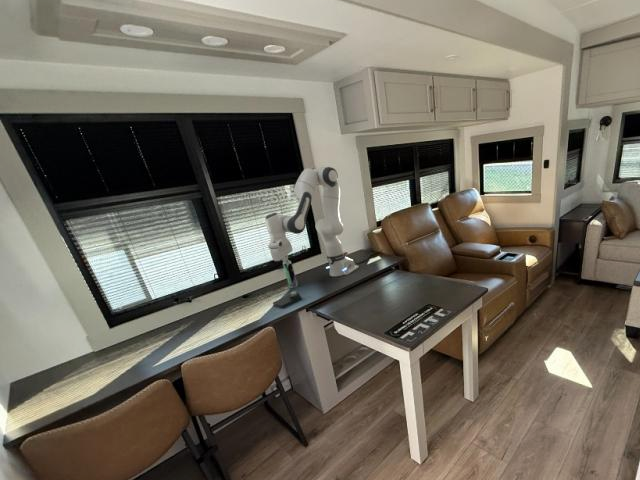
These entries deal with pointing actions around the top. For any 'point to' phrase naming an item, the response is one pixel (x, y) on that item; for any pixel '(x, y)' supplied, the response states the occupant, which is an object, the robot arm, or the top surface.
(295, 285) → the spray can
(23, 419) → the top surface
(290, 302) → the scale
